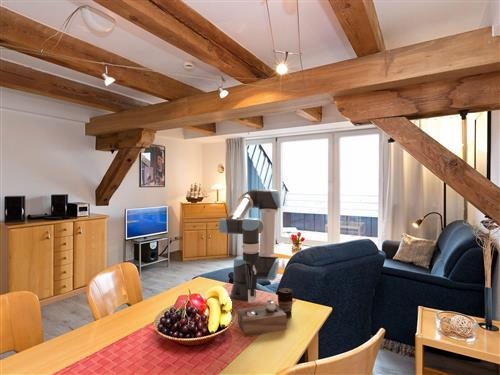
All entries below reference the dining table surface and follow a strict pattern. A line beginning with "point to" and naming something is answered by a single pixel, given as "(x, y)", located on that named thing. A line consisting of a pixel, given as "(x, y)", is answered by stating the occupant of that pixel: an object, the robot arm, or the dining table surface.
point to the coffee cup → (285, 300)
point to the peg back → (271, 306)
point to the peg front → (251, 313)
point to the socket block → (261, 321)
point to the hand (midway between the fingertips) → (251, 302)
